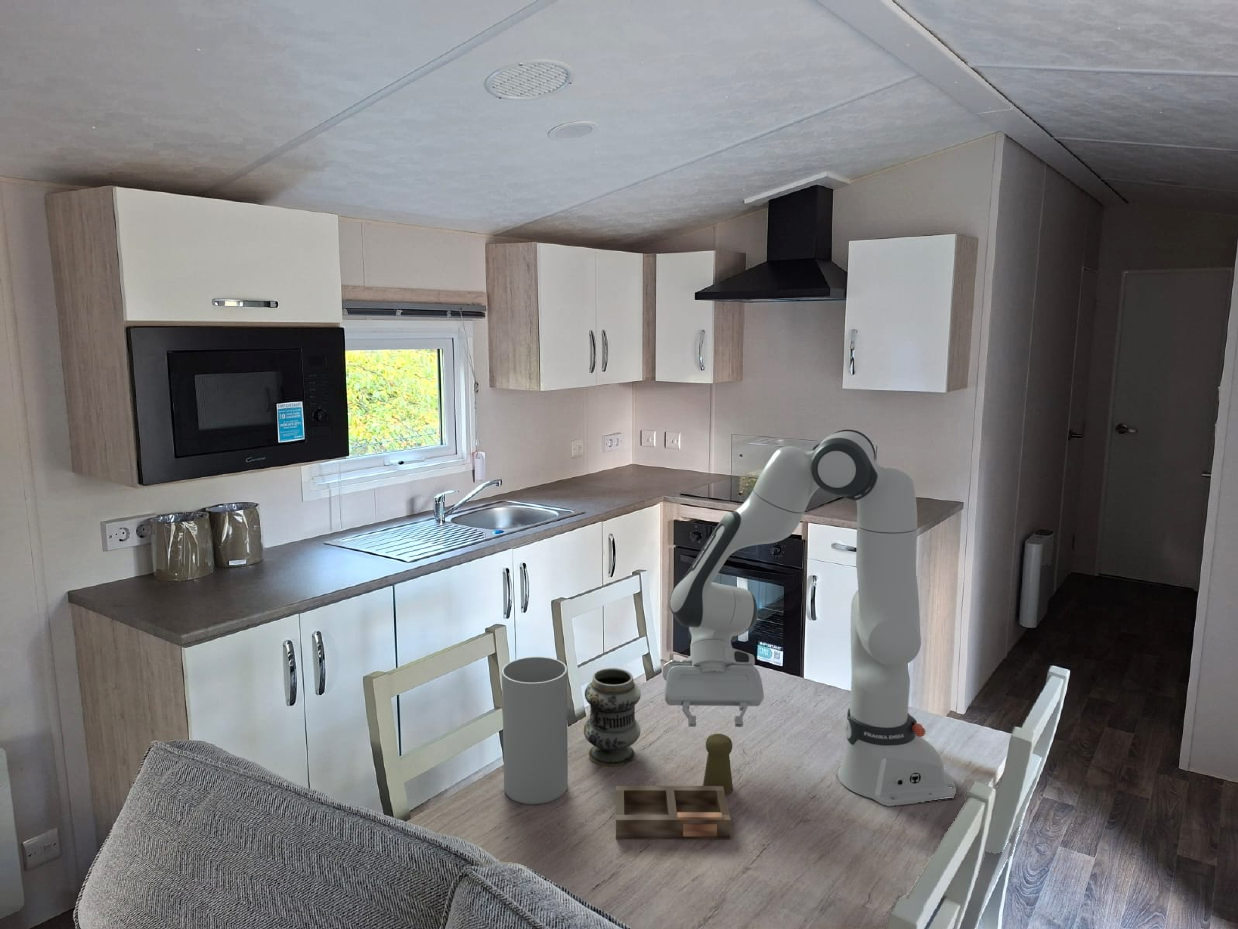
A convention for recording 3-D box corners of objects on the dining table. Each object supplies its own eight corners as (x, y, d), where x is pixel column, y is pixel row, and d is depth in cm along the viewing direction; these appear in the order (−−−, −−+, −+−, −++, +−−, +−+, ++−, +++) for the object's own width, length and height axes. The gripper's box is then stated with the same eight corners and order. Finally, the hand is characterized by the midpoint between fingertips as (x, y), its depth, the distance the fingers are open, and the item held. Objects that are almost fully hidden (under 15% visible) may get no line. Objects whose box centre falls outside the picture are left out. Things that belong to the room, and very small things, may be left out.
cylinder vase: (493, 800, 164) (490, 678, 160) (519, 767, 176) (517, 653, 172) (554, 811, 161) (552, 687, 156) (576, 777, 172) (576, 661, 168)
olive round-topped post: (732, 798, 165) (733, 746, 163) (700, 795, 166) (702, 743, 164) (734, 782, 171) (735, 731, 169) (704, 778, 172) (705, 728, 170)
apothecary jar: (617, 776, 173) (617, 693, 170) (572, 757, 180) (571, 677, 177) (651, 752, 182) (652, 673, 179) (607, 735, 190) (607, 659, 186)
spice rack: (722, 804, 163) (723, 783, 162) (730, 840, 152) (731, 818, 151) (615, 804, 163) (615, 783, 162) (615, 840, 152) (616, 818, 151)
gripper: (663, 654, 177) (665, 720, 169) (761, 655, 177) (767, 721, 169) (661, 666, 182) (663, 730, 174) (757, 666, 182) (763, 731, 174)
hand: (715, 726), depth 171 cm, fingers open, 8 cm apart
